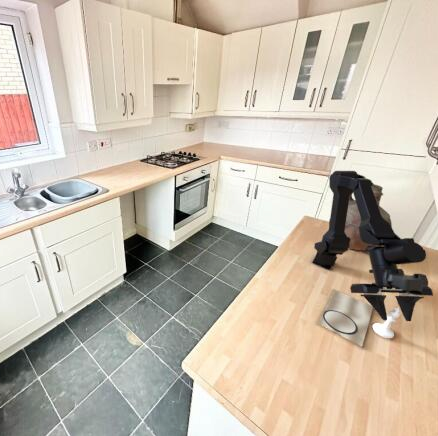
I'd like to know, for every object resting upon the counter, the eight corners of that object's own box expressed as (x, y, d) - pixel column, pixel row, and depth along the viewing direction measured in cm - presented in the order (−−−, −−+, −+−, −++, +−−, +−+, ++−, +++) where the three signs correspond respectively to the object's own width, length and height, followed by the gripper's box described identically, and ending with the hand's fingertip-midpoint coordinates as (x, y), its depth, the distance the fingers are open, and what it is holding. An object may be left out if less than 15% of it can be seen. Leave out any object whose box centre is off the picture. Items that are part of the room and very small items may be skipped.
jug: (374, 266, 101) (411, 200, 86) (316, 244, 115) (339, 185, 100) (383, 245, 113) (416, 185, 99) (329, 228, 127) (351, 173, 113)
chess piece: (388, 326, 76) (404, 304, 71) (396, 340, 72) (414, 317, 67) (369, 322, 77) (383, 300, 72) (376, 335, 73) (392, 313, 68)
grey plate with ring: (318, 323, 77) (319, 322, 77) (334, 290, 89) (335, 289, 89) (361, 347, 70) (362, 345, 70) (372, 308, 82) (373, 306, 82)
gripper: (373, 262, 67) (387, 323, 63) (446, 264, 66) (465, 326, 62) (344, 266, 78) (354, 318, 73) (406, 267, 77) (420, 320, 72)
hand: (396, 320), depth 70 cm, fingers open, 6 cm apart
